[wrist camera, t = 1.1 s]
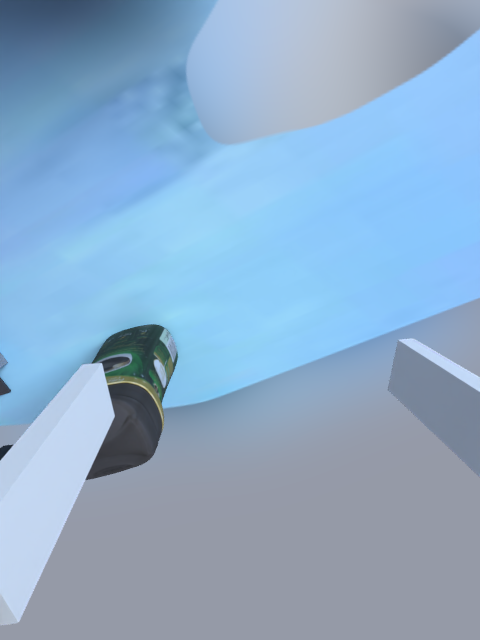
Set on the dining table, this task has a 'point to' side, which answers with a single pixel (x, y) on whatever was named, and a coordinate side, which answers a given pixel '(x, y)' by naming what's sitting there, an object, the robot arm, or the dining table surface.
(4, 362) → the rail
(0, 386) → the dark grey flat block
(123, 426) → the coffee jar
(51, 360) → the dining table surface
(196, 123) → the dining table surface
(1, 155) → the dining table surface
